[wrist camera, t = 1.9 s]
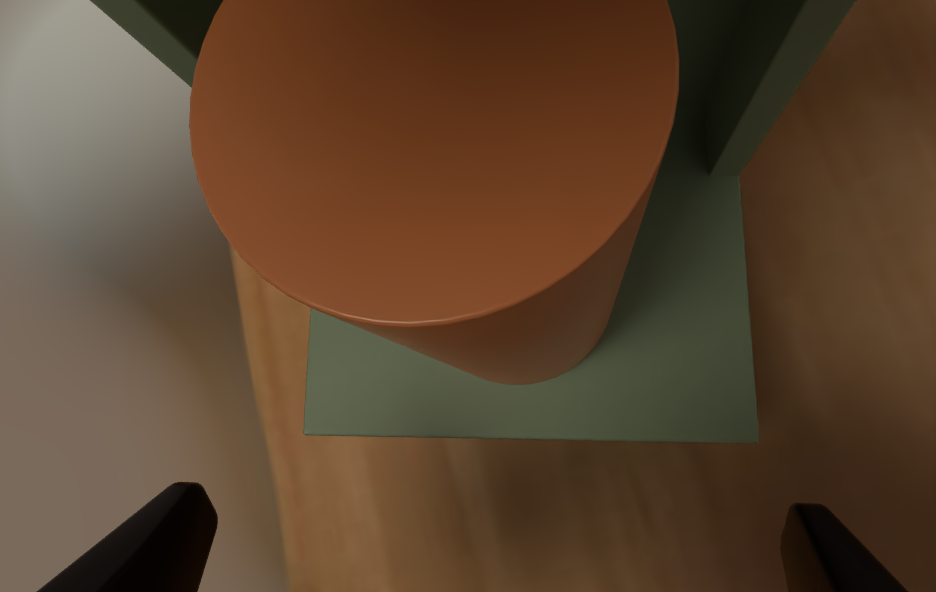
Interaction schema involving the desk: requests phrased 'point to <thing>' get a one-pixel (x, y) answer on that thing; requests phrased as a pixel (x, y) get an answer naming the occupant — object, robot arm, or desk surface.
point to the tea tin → (440, 164)
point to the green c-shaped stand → (646, 276)
